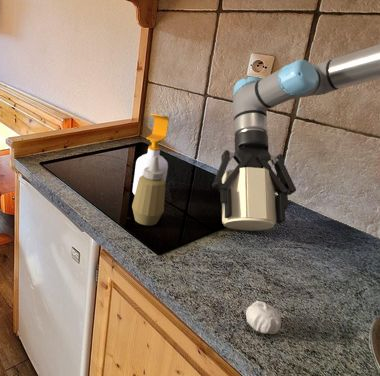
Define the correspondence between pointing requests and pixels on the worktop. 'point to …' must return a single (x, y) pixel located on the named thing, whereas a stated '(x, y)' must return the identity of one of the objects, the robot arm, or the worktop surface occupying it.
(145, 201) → the squeeze bottle
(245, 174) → the bin
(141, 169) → the soap bottle
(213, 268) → the worktop surface
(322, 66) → the robot arm
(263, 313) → the garlic
